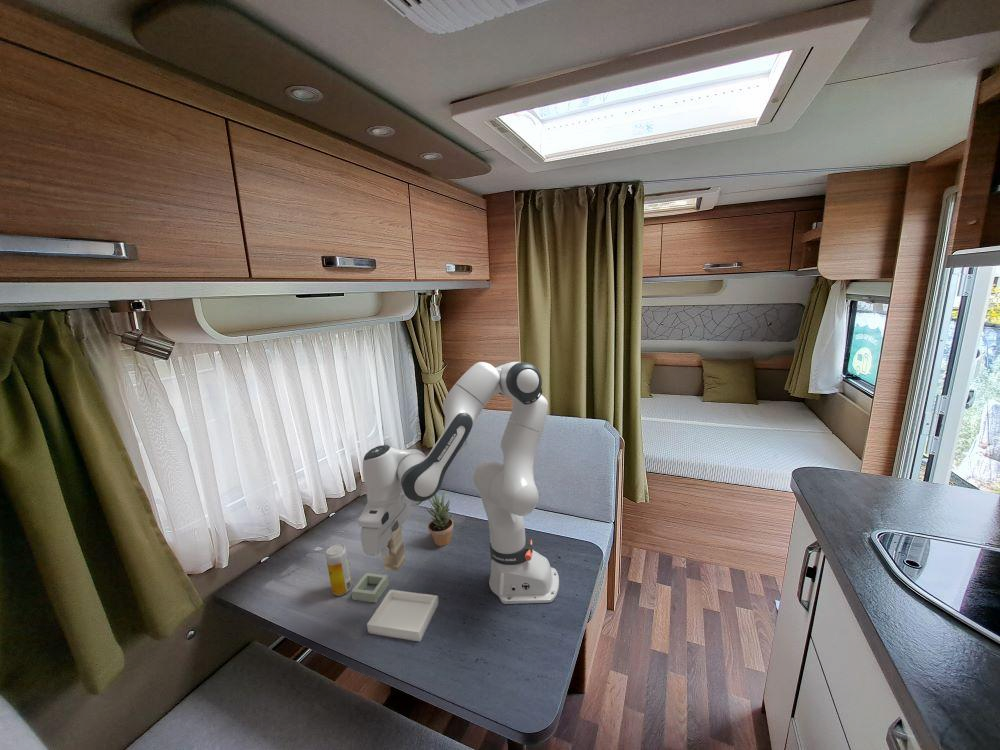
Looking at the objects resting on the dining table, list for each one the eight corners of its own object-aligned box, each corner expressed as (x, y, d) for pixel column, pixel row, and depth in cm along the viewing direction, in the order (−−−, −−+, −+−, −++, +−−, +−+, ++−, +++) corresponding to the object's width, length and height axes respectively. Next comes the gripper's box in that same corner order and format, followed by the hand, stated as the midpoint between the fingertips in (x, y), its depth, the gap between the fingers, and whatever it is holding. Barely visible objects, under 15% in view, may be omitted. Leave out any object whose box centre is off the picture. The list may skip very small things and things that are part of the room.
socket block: (389, 583, 126) (388, 575, 125) (375, 602, 118) (374, 594, 117) (367, 580, 128) (366, 572, 127) (352, 599, 120) (351, 591, 119)
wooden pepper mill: (407, 559, 111) (401, 519, 108) (398, 572, 106) (392, 530, 103) (391, 557, 112) (385, 517, 110) (382, 570, 107) (375, 528, 105)
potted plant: (430, 535, 150) (423, 478, 145) (454, 531, 151) (448, 474, 146) (429, 551, 140) (422, 490, 135) (455, 547, 141) (449, 487, 136)
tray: (438, 604, 116) (437, 595, 115) (420, 641, 103) (419, 632, 103) (391, 597, 120) (390, 589, 119) (368, 633, 107) (366, 624, 107)
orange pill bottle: (339, 582, 128) (332, 543, 125) (356, 583, 127) (349, 543, 124) (328, 596, 122) (320, 555, 119) (346, 597, 121) (338, 556, 118)
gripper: (394, 484, 116) (400, 524, 119) (353, 524, 96) (362, 571, 99) (412, 485, 114) (418, 526, 117) (375, 526, 95) (383, 574, 98)
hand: (392, 547), depth 108 cm, fingers closed on wooden pepper mill, 4 cm apart
